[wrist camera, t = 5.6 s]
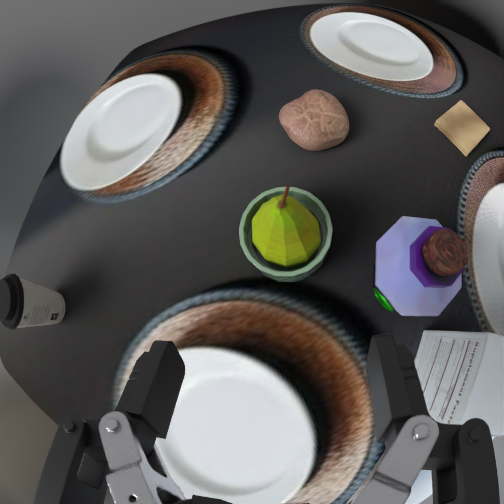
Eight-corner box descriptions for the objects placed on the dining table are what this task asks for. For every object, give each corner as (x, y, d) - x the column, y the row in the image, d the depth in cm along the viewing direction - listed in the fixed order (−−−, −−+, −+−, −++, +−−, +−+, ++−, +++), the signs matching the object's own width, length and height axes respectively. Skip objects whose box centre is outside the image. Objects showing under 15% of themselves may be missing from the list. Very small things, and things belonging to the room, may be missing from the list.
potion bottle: (343, 298, 27) (368, 284, 16) (376, 222, 28) (411, 167, 17) (414, 333, 25) (475, 339, 14) (443, 258, 26) (505, 224, 14)
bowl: (345, 247, 28) (351, 235, 24) (280, 299, 28) (276, 296, 24) (294, 190, 31) (292, 170, 26) (233, 237, 31) (221, 224, 26)
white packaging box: (474, 340, 23) (548, 345, 11) (453, 404, 22) (516, 439, 10) (422, 327, 25) (490, 329, 13) (399, 395, 24) (452, 438, 12)
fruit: (245, 249, 30) (206, 206, 18) (278, 201, 30) (261, 135, 19) (297, 284, 28) (291, 260, 17) (331, 232, 29) (344, 178, 17)
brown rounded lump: (262, 127, 33) (299, 160, 29) (269, 82, 29) (312, 108, 24) (310, 123, 36) (349, 153, 32) (320, 83, 31) (364, 109, 27)
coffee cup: (76, 321, 32) (19, 316, 23) (49, 338, 33) (-4, 336, 23) (63, 275, 34) (10, 261, 25) (38, 295, 35) (-12, 286, 25)
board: (487, 132, 28) (490, 128, 27) (465, 157, 28) (468, 153, 27) (458, 103, 29) (461, 99, 28) (433, 124, 29) (436, 120, 28)
